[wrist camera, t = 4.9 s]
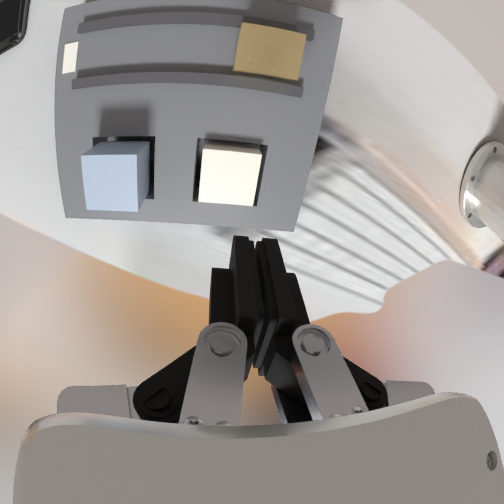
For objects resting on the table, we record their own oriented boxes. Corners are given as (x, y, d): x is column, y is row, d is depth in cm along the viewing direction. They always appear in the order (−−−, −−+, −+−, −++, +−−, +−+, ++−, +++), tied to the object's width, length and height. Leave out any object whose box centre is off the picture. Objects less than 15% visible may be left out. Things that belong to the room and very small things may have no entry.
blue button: (150, 141, 18) (136, 154, 15) (149, 190, 20) (138, 211, 17) (100, 141, 17) (81, 155, 14) (103, 189, 19) (86, 209, 17)
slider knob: (293, 40, 14) (306, 34, 11) (286, 79, 15) (297, 80, 13) (238, 30, 13) (242, 22, 11) (231, 71, 15) (233, 70, 12)
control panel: (327, 23, 15) (346, 17, 12) (286, 214, 26) (295, 236, 23) (81, 13, 12) (60, 7, 9) (78, 202, 22) (62, 222, 19)
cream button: (256, 142, 21) (262, 154, 18) (248, 187, 23) (252, 206, 20) (205, 137, 20) (202, 148, 17) (201, 183, 22) (198, 201, 19)
